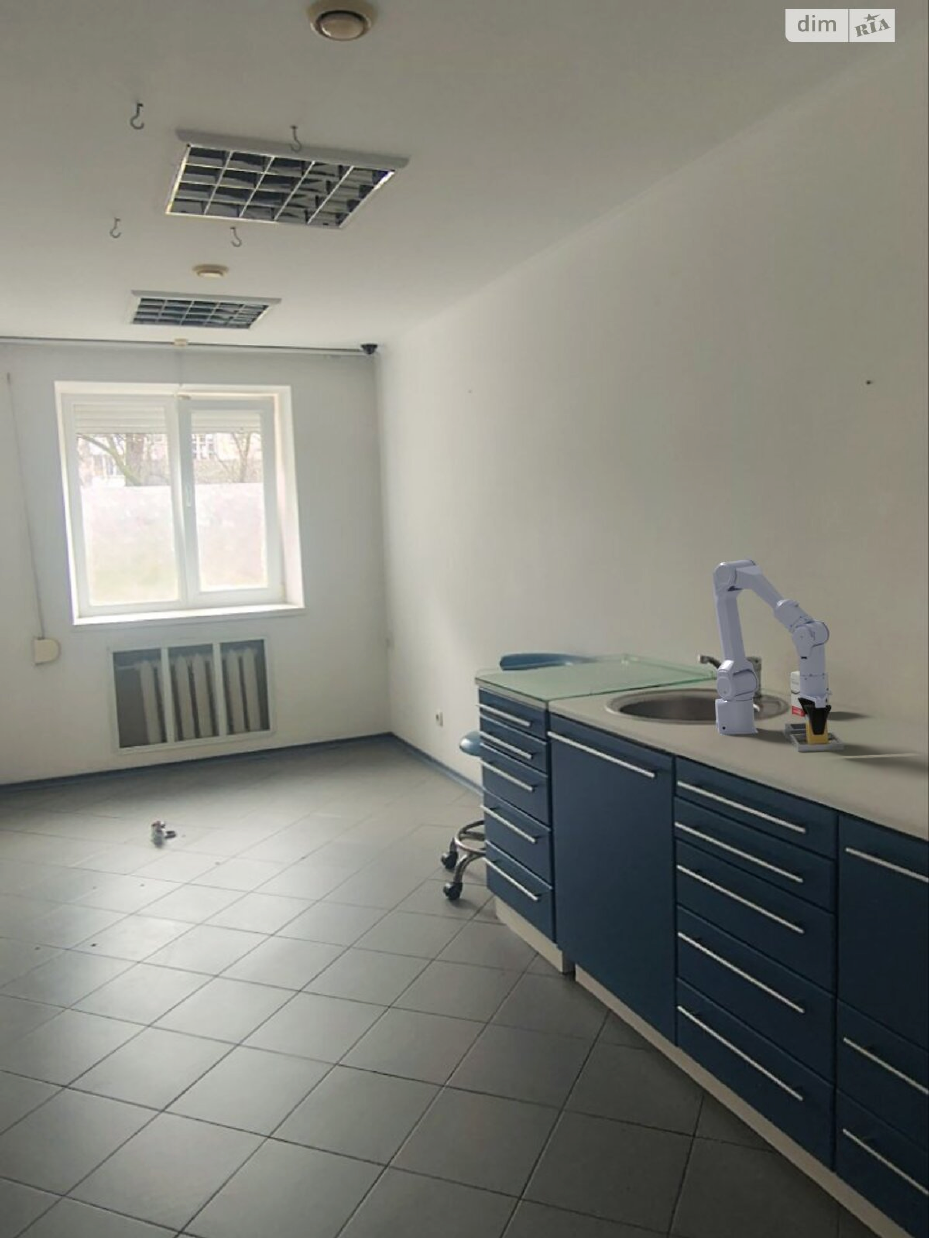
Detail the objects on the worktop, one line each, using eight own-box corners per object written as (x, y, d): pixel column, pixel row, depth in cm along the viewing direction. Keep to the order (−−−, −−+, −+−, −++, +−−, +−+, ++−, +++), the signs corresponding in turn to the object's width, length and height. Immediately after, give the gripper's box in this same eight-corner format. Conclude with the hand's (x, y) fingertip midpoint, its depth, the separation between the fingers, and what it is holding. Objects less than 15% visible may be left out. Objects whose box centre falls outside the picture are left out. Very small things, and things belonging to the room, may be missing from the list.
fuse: (810, 747, 203) (808, 718, 202) (806, 743, 207) (805, 714, 206) (828, 747, 202) (826, 717, 201) (824, 742, 206) (823, 713, 205)
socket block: (787, 741, 211) (786, 731, 211) (780, 731, 220) (779, 722, 220) (826, 739, 210) (825, 729, 209) (818, 730, 218) (817, 720, 218)
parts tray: (798, 754, 201) (797, 745, 200) (790, 742, 210) (789, 734, 210) (844, 752, 199) (843, 743, 198) (833, 740, 208) (833, 732, 208)
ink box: (802, 718, 231) (800, 674, 229) (791, 715, 235) (789, 672, 234) (830, 714, 232) (828, 670, 231) (819, 710, 237) (817, 667, 236)
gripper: (838, 678, 195) (841, 738, 196) (823, 666, 209) (826, 722, 210) (805, 680, 196) (808, 739, 198) (792, 668, 210) (795, 723, 212)
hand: (815, 730), depth 204 cm, fingers open, 6 cm apart
